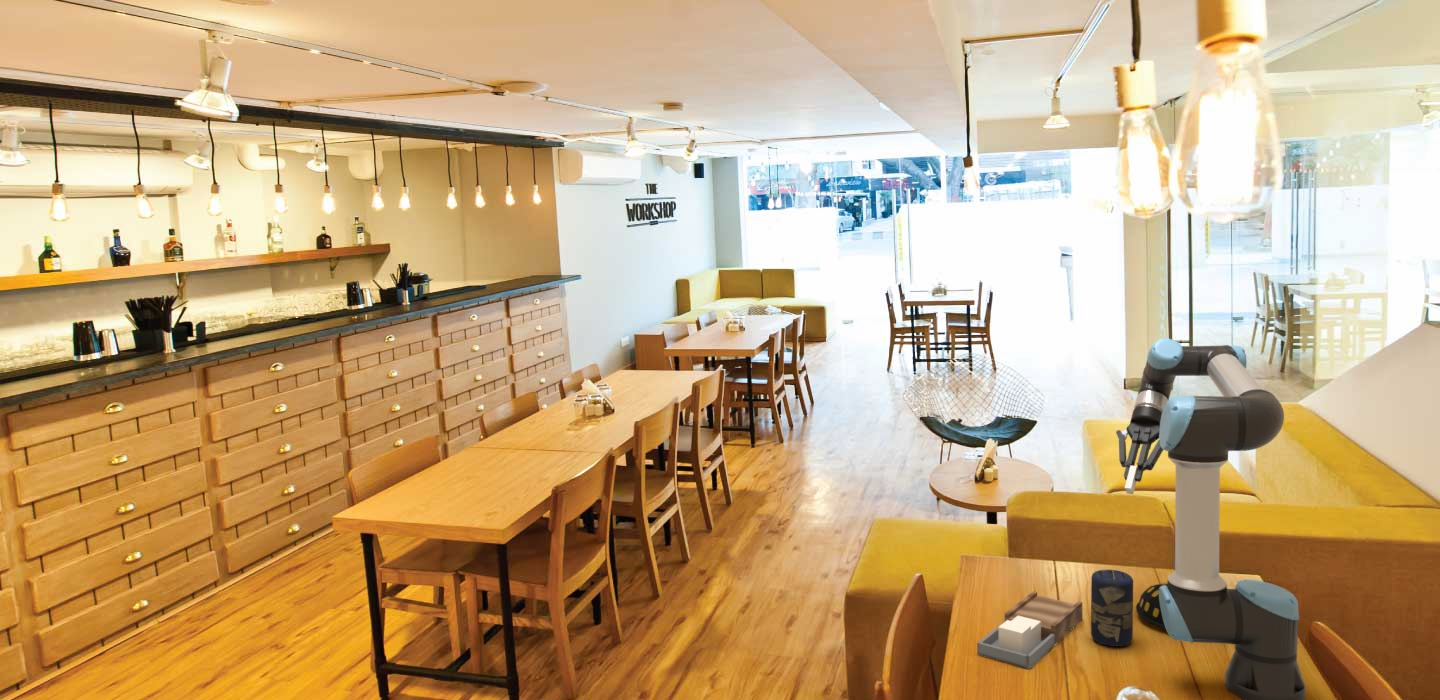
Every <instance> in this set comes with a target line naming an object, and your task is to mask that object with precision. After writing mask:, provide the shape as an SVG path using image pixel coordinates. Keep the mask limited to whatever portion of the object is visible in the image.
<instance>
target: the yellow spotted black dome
mask: <svg viewBox="0 0 1440 700" xmlns="http://www.w3.org/2000/svg"><path fill="white" fill-rule="evenodd" d="M1163 585H1166V586H1167V582H1166V583H1158V584H1154V585H1151V586H1149V587H1148V588H1147V589H1145V590H1144V591H1143V593H1142V594H1141V595H1140V597H1139V600H1138V602H1137V603H1136V606H1135V610H1136V613H1137V615H1138V616H1139V617H1140V618H1141V619H1142V620H1143V621H1145V622H1148V623H1149V624H1152V625H1154V626H1156V627H1159V628H1162V629H1166V628H1165V625H1164V621H1163V617H1162V613H1161V608H1160V602H1159V588H1160V587H1161V586H1163Z"/></svg>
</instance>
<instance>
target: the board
mask: <svg viewBox="0 0 1440 700" xmlns="http://www.w3.org/2000/svg"><path fill="white" fill-rule="evenodd" d="M1017 616H1022V617H1026V618H1030V619H1034V620H1038V621H1041V640H1042V641H1044V640H1045V639H1046V638H1047V637H1048V636H1049V635H1050V634H1055V644H1056V643H1057V644H1059V642H1061V641H1062V640H1063V639H1064V638H1065V637H1066V636H1067V635H1068V634H1069V633H1070V632H1071V631H1072V630H1074V629H1073V627H1075V626H1076V625H1077V624H1078V623H1079V622H1080V621H1081V622H1083V601H1079V600H1078V601H1077V602H1076V603H1072V602H1068V601H1064V600H1059V599H1055V598H1050V597H1046V596H1041V595H1038V591H1035V590H1033V591H1032V592H1030V593H1029V594H1027V596H1026V597H1024V598H1023V599H1022V600H1020V601H1019V602H1018V603H1016V604H1015V605H1014V606H1012V607H1011V608H1010V609H1009V610H1008V611H1006V612H1005V613H1004V622H1006V621H1007V620H1009V621H1012V620H1013V619H1014V618H1015V617H1017ZM1081 622H1080V623H1081ZM1080 623H1079V624H1080ZM1079 624H1078V625H1079ZM1078 625H1077V626H1078ZM1077 626H1076V627H1077ZM1076 627H1075V628H1076ZM1071 629H1072V630H1071ZM1069 631H1070V632H1069ZM1067 633H1068V634H1067ZM1066 634H1067V635H1066ZM1065 635H1066V636H1065ZM1064 636H1065V637H1064ZM1063 637H1064V638H1063ZM1062 638H1063V639H1062ZM1061 639H1062V640H1061ZM1060 640H1061V641H1060ZM1057 644H1056V645H1057Z"/></svg>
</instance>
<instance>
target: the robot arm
mask: <svg viewBox="0 0 1440 700" xmlns="http://www.w3.org/2000/svg"><path fill="white" fill-rule="evenodd" d="M1247 361H1248V359H1247V354H1246V350H1245V349H1244V347H1242V346H1240V345H1230V344H1222V345H1181V343H1179V342H1178V341H1177V340H1174V339H1171V338H1167V337H1166V338H1160V339H1158V340H1156V341H1155V342H1153V344H1152V345H1151V347H1150V349H1149V351H1148V353H1147V359H1146V363H1145V367H1144V368H1143V371H1142V376H1141V377H1142V378H1141V381H1140V385H1139V389H1138V393H1137V396H1136V400H1135V404H1134V406H1133V408H1134V409H1133V411H1132V414H1131V418H1130V423H1129V424H1128V425H1127V427H1126V429H1124V430H1120V429H1118V430H1116V431H1115V433H1116V436H1117V438H1118V455H1119V456H1118V457H1119V463H1120V465H1121V467H1122V468H1125V469H1124V473H1123V477H1124V480H1125V485H1124V490H1125V492H1126V494H1128V495H1134V493H1135V488H1136V484H1137V482H1138V483H1140V482H1141V481H1142V478H1143V474H1144V471H1152V470H1153V469H1154V467H1155V465H1156V463H1157V462H1158V460H1159V458H1160V456H1161V455H1162V453H1163V451H1166V452H1167V459H1169V460H1170V461H1171V462H1172V463H1173V464H1174V466H1175V500H1174V501H1175V503H1174V504H1175V505H1174V507H1175V508H1174V509H1175V514H1174V515H1175V516H1174V517H1175V518H1174V521H1175V524H1174V525H1175V526H1174V530H1175V532H1174V539H1175V540H1174V542H1175V543H1174V544H1175V545H1174V546H1175V547H1174V571H1172V573H1170V574H1169V575H1168V576H1167V580H1166V581H1167V582H1166V583H1167V586H1166V585H1163V586H1161V587H1160V588H1159V602H1160V608H1161V613H1162V617H1163V621H1164V625H1165V628H1166V633H1167V634H1168V636H1169V637H1170V638H1171V639H1173V640H1175V641H1179V642H1180V641H1181V642H1188V643H1191V644H1193V643H1202V644H1203V643H1204V644H1205V643H1207V644H1222V645H1223V644H1224V645H1234V653H1233V655H1232V656H1231V659H1230V662H1229V664H1228V666H1227V668H1226V670H1225V675H1224V677H1225V678H1224V680H1225V681H1224V685H1225V686H1226V688H1227V689H1228V690H1229V691H1230V692H1231V693H1233V694H1234V695H1235V696H1238V697H1239V698H1241V699H1243V700H1305V699H1306V684H1305V681H1304V678H1303V675H1302V673H1301V669H1300V667H1299V663H1298V640H1299V639H1298V638H1299V637H1298V633H1299V631H1298V630H1299V619H1300V615H1299V601H1298V599H1297V597H1296V596H1295V595H1294V594H1293V593H1292V592H1291V591H1289V590H1287V589H1285V588H1283V587H1281V586H1278V585H1276V584H1273V583H1270V582H1267V581H1266V582H1265V581H1261V580H1255V579H1243V580H1239V581H1237V582H1236V585H1235V587H1234V588H1227V587H1228V585H1227V581H1226V580H1225V579H1223V577H1221V576H1220V511H1221V510H1220V506H1221V505H1220V503H1221V502H1220V497H1221V496H1220V493H1221V492H1220V491H1221V490H1220V489H1221V486H1220V485H1221V483H1220V482H1221V474H1220V473H1221V467H1222V466H1224V465H1225V464H1226V463H1227V462H1228V461H1229V452H1245V451H1253V450H1257V449H1260V448H1262V447H1263V446H1266V445H1267V444H1269V443H1271V442H1272V441H1273V440H1274V439H1275V438H1276V437H1277V436H1278V434H1279V433H1280V432H1281V431H1282V428H1283V425H1284V421H1285V411H1284V407H1283V406H1282V404H1281V402H1280V400H1279V399H1278V398H1277V397H1276V396H1275V395H1274V394H1273V393H1272V392H1270V391H1268V390H1266V389H1263V388H1262V387H1261V386H1260V384H1258V382H1257V381H1256V380H1255V378H1254V377H1253V376H1252V375H1251V373H1250V372H1249V371H1248V370H1247ZM1189 376H1191V377H1197V376H1198V377H1203V376H1204V377H1209V378H1210V380H1211V381H1212V382H1213V384H1214V385H1215V386H1216V388H1217V389H1218V391H1219V392H1220V393H1221V395H1222V396H1214V395H1213V396H1212V395H1211V396H1210V395H1204V396H1203V395H1200V396H1199V395H1196V396H1195V395H1188V396H1178V397H1177V396H1176V397H1172V398H1170V396H1171V393H1172V389H1173V387H1174V386H1173V385H1174V382H1175V379H1176V377H1189ZM1128 436H1129V438H1130V440H1131V445H1130V448H1129V452H1128V455H1127V443H1126V440H1127V438H1128ZM1156 441H1157V442H1156ZM1155 442H1156V444H1155V445H1154V447H1153V449H1152V451H1151V452H1150V450H1151V447H1152V445H1153V443H1155ZM1139 449H1140V452H1139ZM1149 453H1150V454H1149ZM1138 454H1139V456H1138ZM1137 456H1138V460H1137ZM1136 461H1137V462H1136ZM1135 464H1136V465H1135ZM1165 628H1164V629H1165Z"/></svg>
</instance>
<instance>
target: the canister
mask: <svg viewBox="0 0 1440 700" xmlns="http://www.w3.org/2000/svg"><path fill="white" fill-rule="evenodd" d="M1090 578H1091V587H1090V589H1091V590H1090V593H1091V594H1090V596H1091V597H1090V598H1091V599H1090V600H1091V601H1090V635H1091V637H1092V639H1093V640H1095V641H1096V642H1098V643H1099V644H1102V645H1106V646H1110V647H1111V646H1112V647H1123V646H1127V645H1129V644H1130V643H1131V642H1132V641H1133V628H1134V627H1133V626H1134V625H1133V623H1134V621H1133V619H1134V616H1133V615H1134V579H1133V578H1132V576H1131V575H1130V574H1128V573H1127V572H1124V571H1121V570H1117V569H1100V570H1097V571H1095V572H1093V573H1092V574H1091V577H1090Z"/></svg>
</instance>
